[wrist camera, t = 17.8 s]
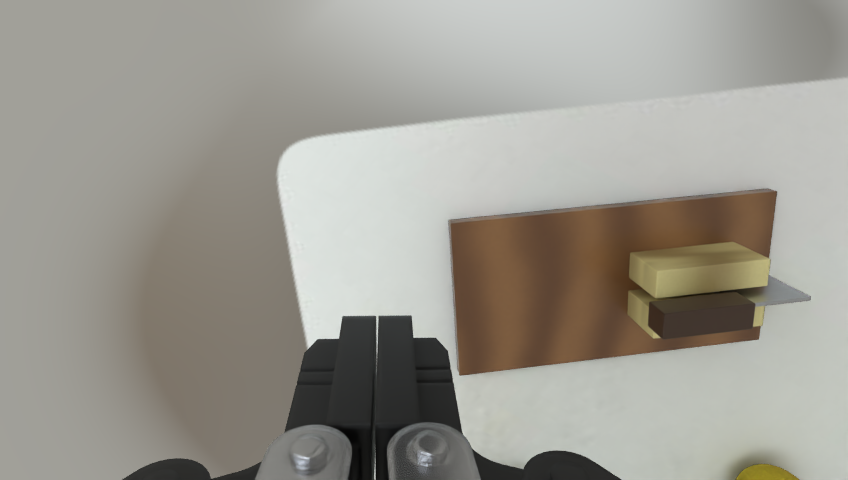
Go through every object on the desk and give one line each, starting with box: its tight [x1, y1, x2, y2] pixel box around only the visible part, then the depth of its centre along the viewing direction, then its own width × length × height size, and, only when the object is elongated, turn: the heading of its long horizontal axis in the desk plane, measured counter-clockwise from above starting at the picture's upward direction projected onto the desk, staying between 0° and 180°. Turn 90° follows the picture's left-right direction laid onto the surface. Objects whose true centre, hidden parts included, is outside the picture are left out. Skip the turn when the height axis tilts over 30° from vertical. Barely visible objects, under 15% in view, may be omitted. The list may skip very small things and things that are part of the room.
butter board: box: [449, 189, 777, 375], centre depth 40 cm, size 24×12×5 cm, turn 94°
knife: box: [648, 275, 811, 340], centre depth 38 cm, size 11×2×7 cm, turn 94°
